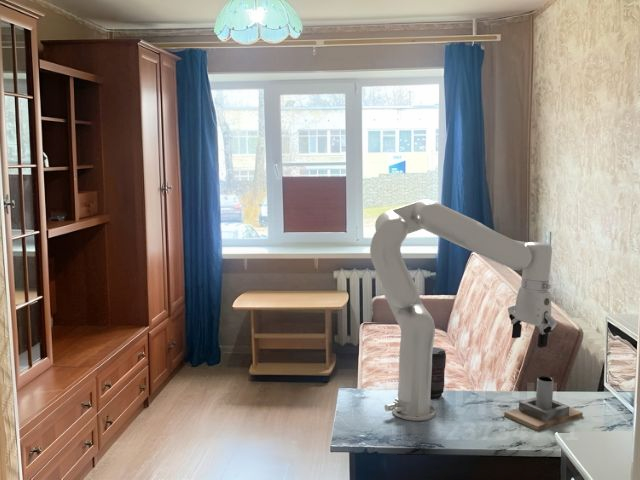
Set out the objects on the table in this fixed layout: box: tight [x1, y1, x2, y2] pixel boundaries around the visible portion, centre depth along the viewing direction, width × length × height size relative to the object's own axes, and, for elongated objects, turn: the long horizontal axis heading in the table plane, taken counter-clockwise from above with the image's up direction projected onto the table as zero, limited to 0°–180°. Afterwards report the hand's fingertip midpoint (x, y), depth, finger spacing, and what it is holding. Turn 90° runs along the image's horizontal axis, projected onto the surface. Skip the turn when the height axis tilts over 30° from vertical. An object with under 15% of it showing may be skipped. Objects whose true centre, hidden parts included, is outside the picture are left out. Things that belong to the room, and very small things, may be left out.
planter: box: [535, 375, 554, 410], centre depth 200 cm, size 4×4×10 cm
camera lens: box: [430, 346, 447, 401], centre depth 214 cm, size 8×8×15 cm
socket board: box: [503, 396, 584, 431], centre depth 200 cm, size 20×12×4 cm, turn 122°
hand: (528, 342), depth 199 cm, fingers open, 9 cm apart
